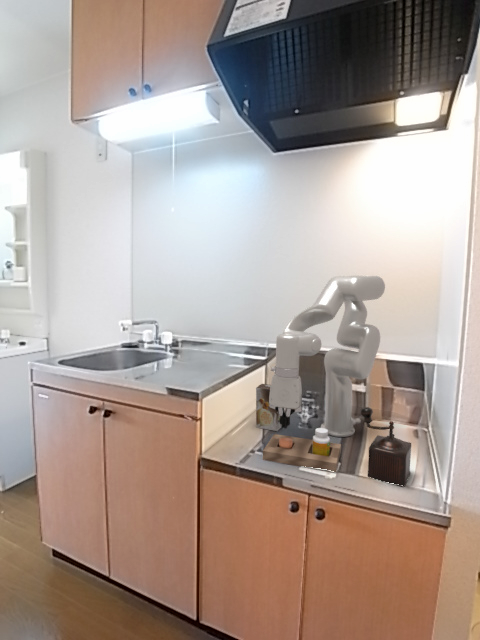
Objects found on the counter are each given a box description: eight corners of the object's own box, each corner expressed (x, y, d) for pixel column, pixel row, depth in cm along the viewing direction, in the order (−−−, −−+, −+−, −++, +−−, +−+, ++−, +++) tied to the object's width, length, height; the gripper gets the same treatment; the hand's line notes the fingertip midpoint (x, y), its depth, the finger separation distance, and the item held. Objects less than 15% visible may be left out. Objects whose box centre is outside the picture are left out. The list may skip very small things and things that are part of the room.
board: (262, 459, 123) (262, 450, 122) (274, 442, 136) (274, 433, 136) (336, 472, 115) (336, 463, 115) (340, 452, 128) (341, 444, 128)
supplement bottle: (329, 463, 120) (330, 434, 119) (312, 462, 121) (313, 432, 120) (328, 456, 126) (330, 427, 124) (312, 454, 127) (313, 426, 125)
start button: (287, 445, 130) (288, 436, 130) (294, 451, 126) (295, 441, 126) (276, 448, 128) (276, 438, 128) (283, 453, 124) (283, 444, 124)
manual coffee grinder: (411, 471, 116) (414, 414, 114) (404, 488, 107) (408, 426, 105) (360, 457, 125) (362, 404, 123) (349, 472, 115) (351, 414, 113)
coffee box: (283, 425, 150) (283, 386, 149) (277, 431, 145) (278, 390, 143) (261, 421, 155) (262, 383, 153) (255, 427, 149) (255, 387, 147)
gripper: (261, 372, 123) (259, 427, 125) (307, 377, 118) (305, 434, 120) (267, 367, 130) (266, 419, 132) (312, 372, 125) (309, 426, 127)
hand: (284, 426), depth 126 cm, fingers closed
